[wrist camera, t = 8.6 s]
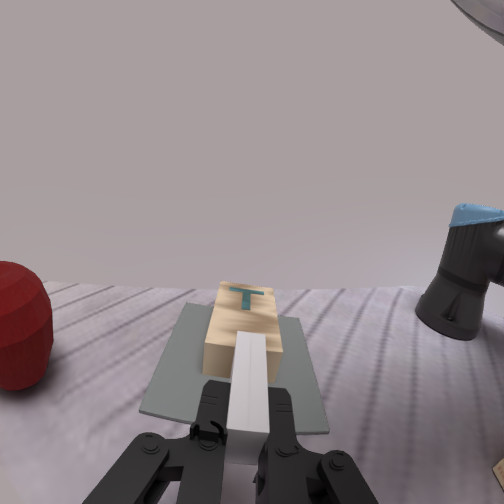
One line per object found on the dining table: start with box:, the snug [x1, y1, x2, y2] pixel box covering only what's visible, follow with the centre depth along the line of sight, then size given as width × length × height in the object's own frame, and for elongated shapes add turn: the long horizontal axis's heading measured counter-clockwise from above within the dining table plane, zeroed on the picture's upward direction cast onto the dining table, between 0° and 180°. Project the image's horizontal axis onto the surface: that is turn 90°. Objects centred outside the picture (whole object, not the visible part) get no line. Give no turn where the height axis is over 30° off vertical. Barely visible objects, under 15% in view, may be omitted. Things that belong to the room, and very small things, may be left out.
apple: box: [0, 261, 54, 391], centre depth 15 cm, size 11×11×12 cm
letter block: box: [202, 281, 283, 383], centre depth 31 cm, size 7×4×14 cm
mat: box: [139, 302, 330, 434], centre depth 28 cm, size 16×20×1 cm
